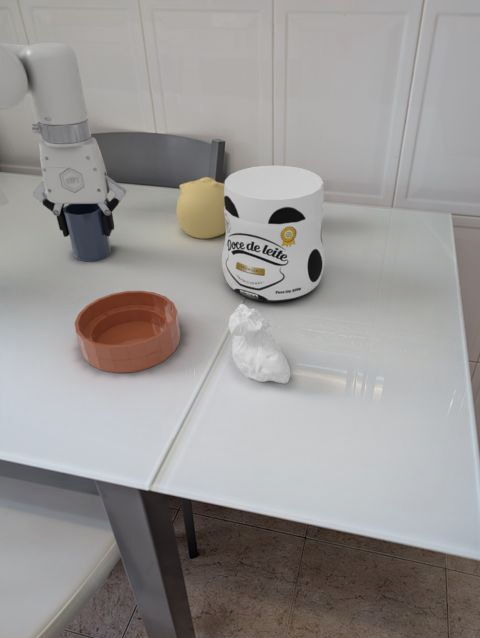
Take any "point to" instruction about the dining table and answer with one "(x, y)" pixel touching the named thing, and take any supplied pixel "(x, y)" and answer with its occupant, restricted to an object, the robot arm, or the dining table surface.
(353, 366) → the dining table surface
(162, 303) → the bowl
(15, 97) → the robot arm
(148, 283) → the dining table surface
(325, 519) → the dining table surface
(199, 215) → the sculpture
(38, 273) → the dining table surface
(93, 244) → the cup
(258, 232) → the white doce de leite
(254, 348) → the bust
